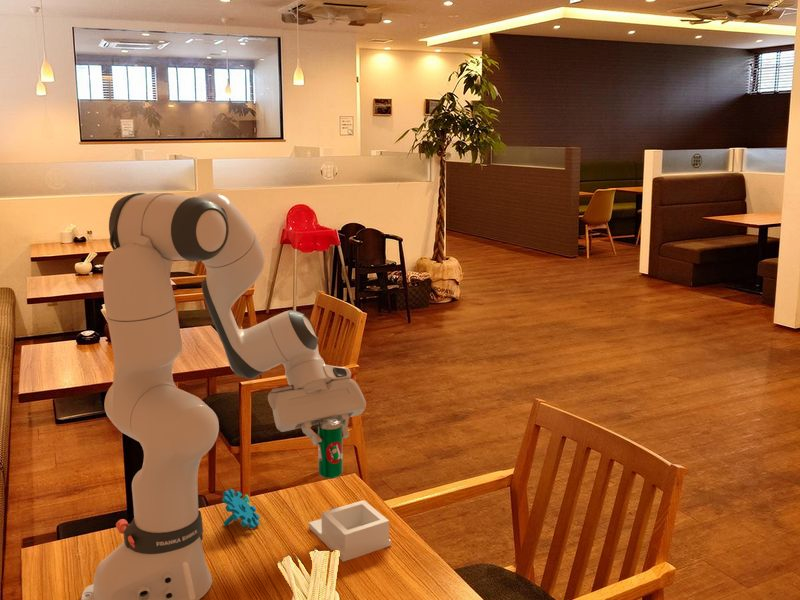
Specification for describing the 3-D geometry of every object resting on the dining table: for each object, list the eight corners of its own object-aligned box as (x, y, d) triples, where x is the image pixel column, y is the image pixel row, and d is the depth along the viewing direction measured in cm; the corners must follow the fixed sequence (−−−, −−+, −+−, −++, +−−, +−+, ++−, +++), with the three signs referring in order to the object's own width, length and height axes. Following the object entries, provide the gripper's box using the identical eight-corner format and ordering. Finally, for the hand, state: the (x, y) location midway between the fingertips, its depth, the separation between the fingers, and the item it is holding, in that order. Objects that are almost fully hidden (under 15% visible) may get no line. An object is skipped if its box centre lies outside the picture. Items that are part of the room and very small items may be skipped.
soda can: (321, 468, 164) (320, 415, 162) (344, 470, 164) (344, 416, 161) (316, 478, 159) (315, 424, 157) (340, 480, 159) (339, 425, 156)
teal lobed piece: (255, 531, 157) (221, 497, 156) (235, 550, 157) (201, 516, 157) (267, 511, 168) (235, 479, 167) (248, 529, 168) (216, 497, 168)
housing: (343, 561, 149) (342, 535, 148) (308, 527, 162) (308, 502, 160) (391, 545, 155) (391, 520, 154) (354, 513, 167) (354, 489, 166)
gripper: (269, 383, 157) (290, 444, 151) (355, 367, 168) (378, 424, 162) (260, 397, 162) (281, 457, 156) (345, 381, 173) (367, 436, 167)
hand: (331, 440), depth 159 cm, fingers closed on soda can, 5 cm apart
